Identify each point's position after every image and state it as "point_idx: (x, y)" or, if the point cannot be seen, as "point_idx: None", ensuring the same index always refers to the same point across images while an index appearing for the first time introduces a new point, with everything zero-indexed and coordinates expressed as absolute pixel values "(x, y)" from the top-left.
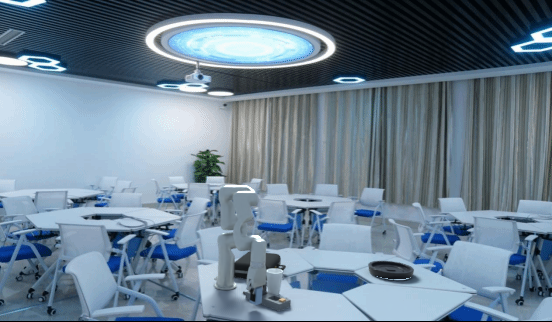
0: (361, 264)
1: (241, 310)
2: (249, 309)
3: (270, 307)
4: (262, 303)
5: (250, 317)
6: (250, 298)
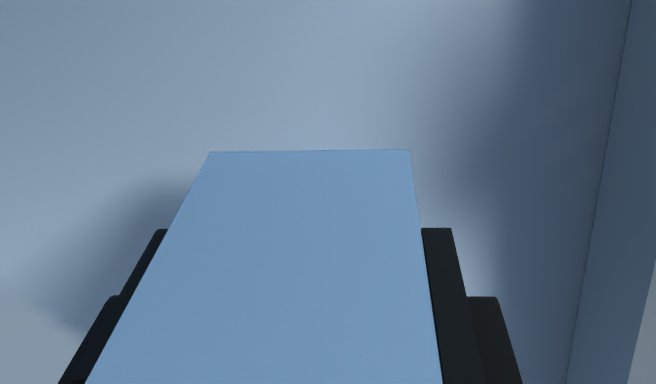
0: None
1: (81, 27)
2: (243, 98)
3: (581, 300)
4: (624, 117)
5: (57, 321)
6: (110, 307)
